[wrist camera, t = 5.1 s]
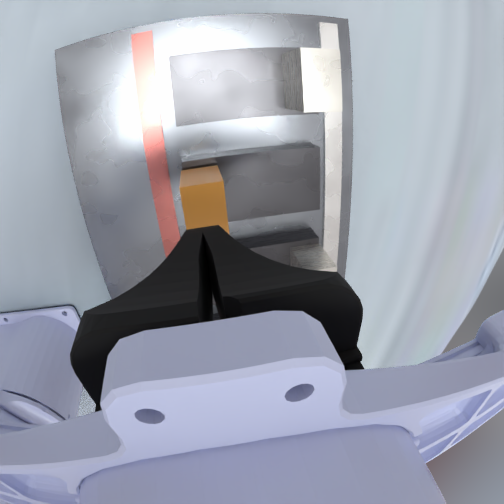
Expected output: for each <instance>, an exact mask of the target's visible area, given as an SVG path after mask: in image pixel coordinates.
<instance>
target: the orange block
mask: <svg viewBox="0 0 504 504" xmlns="http://www.w3.org/2000/svg"><path fill="white" fill-rule="evenodd" d="M179 189H180V195H181V201H182V207H183V213H184V219H185V225H186V230H187V229H194V228H201V227H207V226H214V225H219V226H221V227H222V228H223V229H224V230H225V231H226V232H227V233H228V234H229V226H228V217H227V208H226V199H225V190H224V181H223V178H222V176H221V173H220V171H219V168H218V165H215V166H208V167H201V168H194V169H188V170H182V171H181V175H180V185H179ZM229 235H230V234H229Z"/></svg>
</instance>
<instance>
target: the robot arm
mask: <svg viewBox="0 0 504 504" xmlns="http://www.w3.org/2000/svg"><path fill="white" fill-rule="evenodd" d="M213 297H214V300H215V304H216V307H217V311H218V314H219V318H220V320H216V321H213ZM64 311H65V312H67V313H65V312H64ZM362 316H363V307H362V304H361V301H360V299H359V297H358V296H357V295H356V293H355V292H354V291H353V289H352V288H351V287H350V285H349V284H348V283H347V282H346V280H345V279H344V278H343V277H342V276H341V275H340V274H339V273H338V272H331V271H319V270H310V269H304V268H299V267H294V266H290V265H286V264H283V263H280V262H277V261H274V260H271V259H268V258H266V257H264V256H262V255H260V254H257V253H255V252H254V251H252V250H250V249H248V248H247V247H245V246H244V245H242V244H241V243H239V242H238V241H237V240H235V239H234V238H233V237H232V236H230V235H229V234H228V233H227V232H226V231H225V230H224V229H223V228H222V227H221V226H219V225H214V226H207V227H201V228H194V229H187V230H186V231H185V232H184V233H183V235H182V237H181V238H180V240H179V241H178V243H177V244H176V246H175V247H174V248H173V250H172V251H171V253H170V254H169V255H168V256H167V257H166V259H165V260H164V261H163V262H162V263H161V264H160V265H159V266H158V267H157V268H156V269H155V270H154V271H153V272H152V273H151V274H150V275H149V276H147V277H146V278H145V279H143V280H142V281H141V282H139V283H138V284H137V285H135V286H134V287H132V288H131V289H129V290H128V291H126V292H125V293H123V294H121V295H119V296H118V297H116V298H114V299H112V300H110V301H108V302H106V303H103V304H101V305H99V306H96V307H94V308H92V309H90V310H87V311H84V313H83V316H82V318H81V320H80V318H79V316H78V314H77V312H76V310H75V308H74V307H72V306H63V307H54V308H46V309H38V310H29V311H21V312H12V313H3V314H0V504H447V503H446V501H445V499H444V497H443V495H442V493H441V492H440V490H439V488H438V486H437V484H436V482H435V480H434V478H433V476H432V474H431V473H430V471H429V469H428V467H427V465H426V463H427V462H428V461H430V460H432V459H433V458H435V457H437V456H438V455H440V454H441V453H443V452H444V451H446V450H447V449H448V448H450V447H452V446H453V445H455V444H456V443H458V442H459V441H460V440H462V439H463V438H465V437H466V436H468V435H469V434H470V433H471V432H473V431H474V430H476V429H477V428H478V427H480V426H481V425H482V424H483V423H485V422H486V421H488V420H489V419H490V418H492V417H493V416H494V415H495V414H497V413H498V412H499V411H501V410H502V409H503V408H504V310H502V311H500V312H498V313H496V314H494V315H492V316H491V317H488V318H487V319H486V320H485V321H484V322H483V323H482V324H481V326H480V327H479V330H478V332H477V334H476V338H475V339H473V340H471V341H469V342H467V343H465V344H463V345H461V346H459V347H457V348H454V349H452V350H450V351H448V352H446V353H443V354H441V355H439V356H437V357H434V358H432V359H430V360H427V361H425V362H423V363H420V364H418V365H410V366H401V367H390V368H377V369H364V367H363V366H362V364H361V362H360V361H362V354H361V352H360V351H359V349H358V347H357V342H358V337H359V333H360V328H361V323H362ZM6 318H7V319H6ZM83 386H84V388H85V389H86V391H87V392H88V394H89V395H90V396H91V398H92V399H93V401H94V402H95V403H96V408H95V412H93V413H90V414H86V415H83V416H79V417H77V415H78V409H79V404H80V398H81V393H82V388H83Z"/></svg>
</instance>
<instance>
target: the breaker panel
mask: <svg viewBox="0 0 504 504" xmlns="http://www.w3.org/2000/svg"><path fill="white" fill-rule="evenodd" d="M55 60H56V72H57V82H58V91H59V99H60V106H61V113H62V119H63V126H64V131H65V137H66V142H67V148H68V153H69V157H70V162H71V167H72V171H73V176H74V180H75V184H76V188H77V192H78V196H79V200H80V204H81V207H82V211H83V215H84V218H85V222H86V225H87V228H88V232H89V235H90V238H91V242H92V245H93V248H94V251H95V254H96V257H97V260H98V263H99V266H100V269H101V272H102V274H103V277H104V280H105V283H106V285H107V288H108V291H109V293H110V296H111V299H114V298H116V297H118V296H119V295H121V294H123V293H125V292H126V291H128V290H129V289H131V288H132V287H134V286H135V285H137V284H138V283H139V282H141V281H142V280H143V279H145V278H146V277H147V276H149V275H150V274H151V273H152V272H153V271H154V270H155V269H156V268H157V267H158V266H159V265H160V264H161V263H162V262H163V261H164V260H165V259H166V257H167V256H168V255H169V254H170V253H171V251H172V250H173V248H174V247H175V246H176V244H177V243H178V241H179V240H180V238H181V237H182V235H183V233H184V232H185V231H186V225H185V219H184V213H183V207H182V201H181V195H180V189H179V185H180V175H181V171H182V170H188V169H194V168H201V167H208V166H215V165H218V168H219V171H220V173H221V176H222V178H223V181H224V190H225V199H226V208H227V217H228V226H229V234H230V236H232V237H233V238H234V239H235V240H237V241H238V242H239V243H241V244H242V245H244V246H245V247H247V248H248V249H250V250H252V251H254V252H255V253H257V254H260V255H262V256H264V257H266V258H268V259H271V260H274V261H277V262H280V263H283V264H286V265H290V266H294V267H299V268H304V269H310V270H319V271H331V272H338V273H339V274H340V275H341V276H342V277H343V278H345V269H346V259H347V248H348V235H349V222H350V206H351V186H352V155H353V101H352V71H351V53H350V38H349V26H348V19H343V18H335V17H326V16H315V15H301V14H278V13H250V14H226V15H212V16H201V17H192V18H184V19H177V20H170V21H164V22H158V23H152V24H147V25H142V26H137V27H132V28H128V29H123V30H119V31H115V32H111V33H107V34H104V35H100V36H97V37H93V38H90V39H86V40H83V41H80V42H77V43H74V44H71V45H68V46H65V47H62V48H59V49H57V50H55ZM216 320H220V318H219V314H218V311H217V307H216V304H215V300H214V297H213V321H216Z"/></svg>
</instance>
